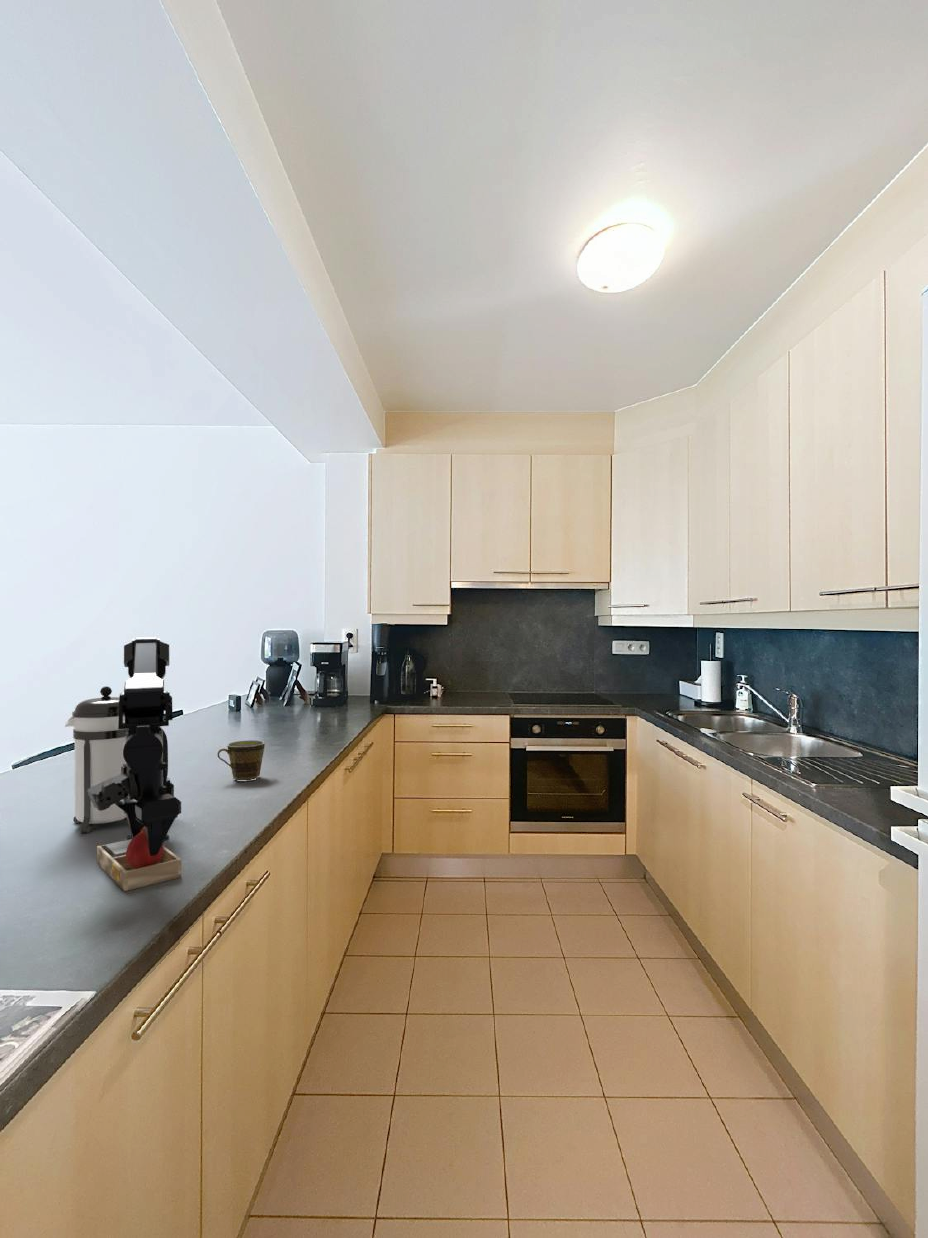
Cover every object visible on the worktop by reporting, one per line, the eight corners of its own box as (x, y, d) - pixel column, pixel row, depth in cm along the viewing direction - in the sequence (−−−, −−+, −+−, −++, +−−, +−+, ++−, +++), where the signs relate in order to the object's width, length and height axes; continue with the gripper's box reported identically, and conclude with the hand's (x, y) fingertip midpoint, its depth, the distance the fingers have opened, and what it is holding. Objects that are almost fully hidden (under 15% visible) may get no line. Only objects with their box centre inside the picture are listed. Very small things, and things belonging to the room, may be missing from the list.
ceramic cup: (256, 773, 191) (256, 739, 191) (270, 779, 184) (270, 743, 184) (211, 780, 183) (211, 744, 183) (224, 787, 175) (224, 749, 175)
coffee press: (116, 836, 135) (115, 690, 135) (49, 832, 138) (49, 689, 138) (170, 812, 152) (169, 682, 152) (109, 809, 155) (109, 682, 155)
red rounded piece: (122, 873, 114) (121, 826, 114) (158, 864, 117) (157, 819, 118) (131, 882, 109) (130, 834, 109) (168, 873, 113) (167, 826, 113)
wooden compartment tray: (95, 863, 120) (95, 845, 120) (149, 851, 126) (149, 833, 126) (123, 891, 107) (123, 871, 107) (181, 876, 113) (181, 857, 113)
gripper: (79, 756, 115) (79, 846, 115) (107, 774, 101) (108, 876, 101) (146, 748, 122) (147, 832, 122) (182, 763, 109) (182, 858, 108)
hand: (145, 848), depth 113 cm, fingers open, 9 cm apart
